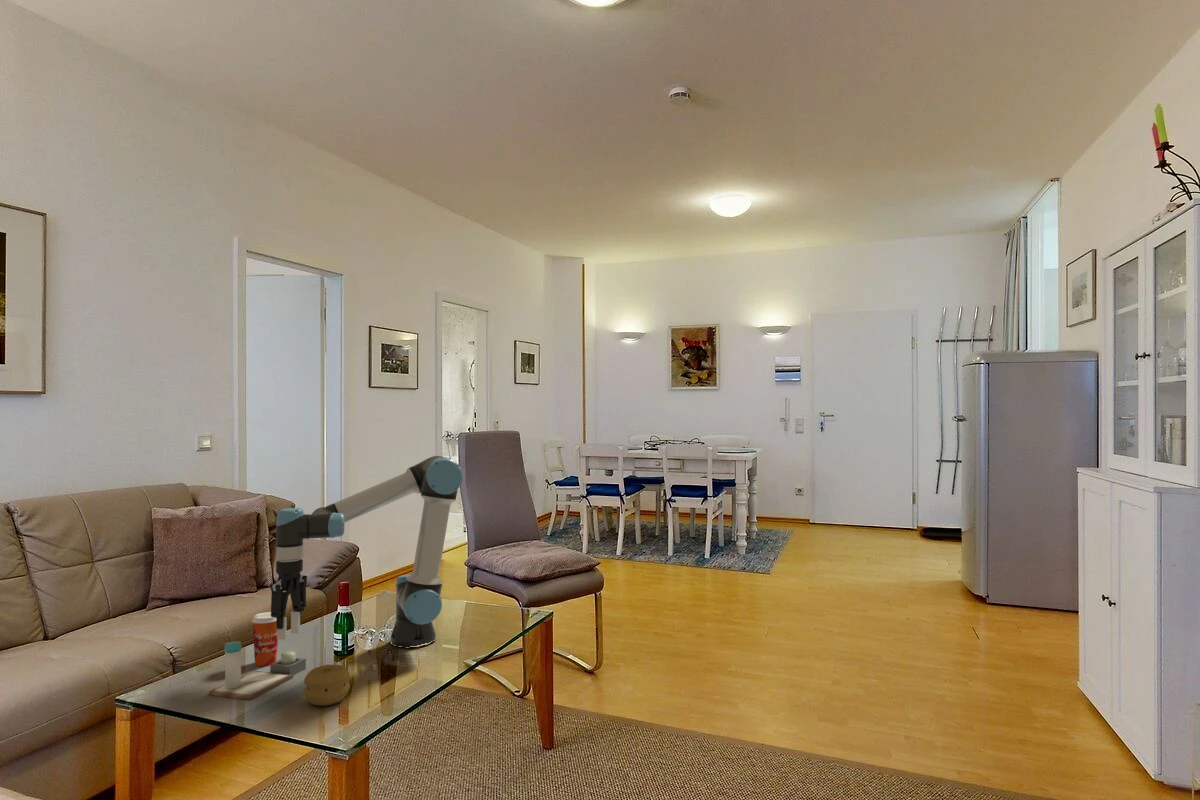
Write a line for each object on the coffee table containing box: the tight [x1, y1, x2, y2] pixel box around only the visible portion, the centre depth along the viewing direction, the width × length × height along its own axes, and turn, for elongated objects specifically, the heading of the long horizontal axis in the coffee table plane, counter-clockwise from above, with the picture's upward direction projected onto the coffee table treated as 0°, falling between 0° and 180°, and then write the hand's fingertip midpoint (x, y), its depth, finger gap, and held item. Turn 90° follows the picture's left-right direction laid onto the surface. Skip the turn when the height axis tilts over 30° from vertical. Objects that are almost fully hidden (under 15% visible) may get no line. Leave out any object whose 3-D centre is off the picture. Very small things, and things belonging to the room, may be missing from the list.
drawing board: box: [208, 670, 294, 701], centre depth 201 cm, size 14×17×2 cm
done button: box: [280, 650, 297, 665], centre depth 212 cm, size 4×4×4 cm
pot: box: [303, 664, 351, 707], centre depth 190 cm, size 12×12×10 cm
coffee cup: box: [251, 611, 279, 667], centre depth 220 cm, size 8×8×15 cm
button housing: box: [269, 657, 307, 676], centre depth 212 cm, size 7×7×3 cm
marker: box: [224, 640, 242, 689], centre depth 198 cm, size 4×4×12 cm
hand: (288, 635), depth 213 cm, fingers open, 5 cm apart
